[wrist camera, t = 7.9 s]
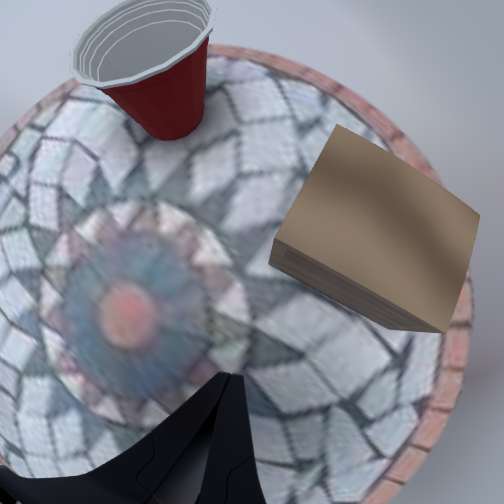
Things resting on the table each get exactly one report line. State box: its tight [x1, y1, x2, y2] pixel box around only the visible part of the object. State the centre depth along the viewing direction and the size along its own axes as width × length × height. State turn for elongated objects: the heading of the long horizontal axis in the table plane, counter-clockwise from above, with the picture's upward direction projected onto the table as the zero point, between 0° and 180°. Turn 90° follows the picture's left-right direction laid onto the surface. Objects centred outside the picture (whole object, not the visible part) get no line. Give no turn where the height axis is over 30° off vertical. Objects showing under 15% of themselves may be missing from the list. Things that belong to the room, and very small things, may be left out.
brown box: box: [268, 124, 480, 334], centre depth 19 cm, size 8×11×8 cm
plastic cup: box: [69, 0, 217, 140], centre depth 20 cm, size 11×11×12 cm
